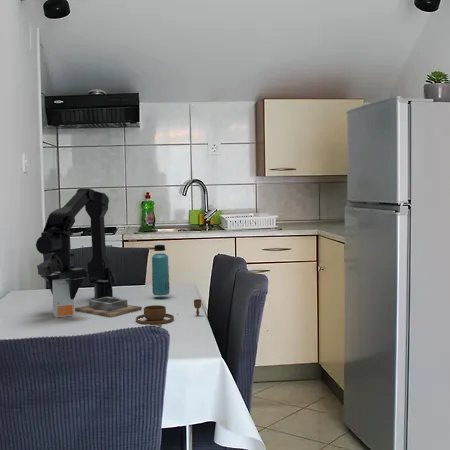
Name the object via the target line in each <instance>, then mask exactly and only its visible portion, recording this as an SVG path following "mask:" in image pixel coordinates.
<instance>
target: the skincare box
mask: <svg viewBox="0 0 450 450" xmlns="http://www.w3.org/2000/svg"><path fill="white" fill-rule="evenodd" d="M65 279H66V278H59V280H52V283H53V295H52V313H53V314H52V315H53V316H54V317H55V318H57V319H58V318H65V317H74V316H75V313H74V312H75V307H74V305H75V304H74V302H75V301H74V299H75V298H74V299H71V298H70V291H69V283H68V282H67V281H66V280H65Z"/></svg>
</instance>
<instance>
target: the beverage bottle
mask: <svg viewBox="0 0 450 450" xmlns="http://www.w3.org/2000/svg"><path fill="white" fill-rule="evenodd" d="M164 251H166V245H165V244H155V245H154V248H153V252H162V253H154V254H153V255H151V275H152V276H151V279H152V280H151V283H152V284H151V285H152V286H151V290H152V294H153V295H154V296H167V295H170V275H169V274H170V273H169V272H170V266H169V256H168V255H167V254H166V253H163V252H164Z"/></svg>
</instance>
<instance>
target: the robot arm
mask: <svg viewBox="0 0 450 450" xmlns="http://www.w3.org/2000/svg"><path fill="white" fill-rule="evenodd" d="M109 203H110V198H109V196H108V195H107V194H106V193H105V192H100V191H96V190H94V189H93V188H89V187H88V188H86V187H84V188H81V187H80V188H78V189H77V190H76V193H75V194H74V195H73V196H72V197H71V198H70V199H69V200H68V201H67V202H66V203H65V205H63V207H59V208H57V209H54V210H53V211H52V212H50V213H49V215H48V218H47V220H46V223H45V225H44V228H43V229H42V230H43V231H42V232H41V235H40V236H39V237H38V239H37V240H36V243H35V247H36V250H37V251H38V253H39V254H41V255H47V254H48V255H49V257H48V259H47V260H44V261H43V262H41V263H39V264H37V265H36V269H37V274H38V275H39V276H40V277H41V278H42V279H44V280H45V281H46V283H47V284H48V287H49V289H50V290H49V291H50V292H51V295H52V296H53V283H52V280H59V279H61V277H60V276H61V275H63V276H65V277H66V278H64V279H65V280H66V281H67V282H68V283H69V291H70V298H71V299H75V298H76V297H77V294H78V292H79V289H80V286H81V284H82V283H83V281H84V280H85V279H86V278H88V280H89V284H90V285H91V284H94V285H93V286H94V287H93V288H94V290H93V291H94V297H91V300H94V299H98V298H103V297H113V298H116V297H115V296H113V294H114V293H113V284H116V283H117V275H116V273H115V272H114V270H113V268H112V262H111V261H110V259H109V257H108V256H107V249H106V248H107V247H106V230H105V226H106V225H105V216H106V214H107V212H108V210H109ZM83 208H85V210H84V211H85V212H86V213H87V215H88V217H90V218H89V219H90V231H91V233H90V234H91V235H90V237H91V250H92V251H91V252H92V257H91V259H90V260H89V261H88V262H87V264H86V265H87V268H82V267H75V265H74V264H72V257H74V252H72V251H71V247H72V246H71V236H73V235H74V233H73V232H72V231H71V229H72V228H73V226H74V225H75V223H76V216H77V214H79V213H80V212H81V211H82V209H83Z"/></svg>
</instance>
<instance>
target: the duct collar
mask: <svg viewBox="0 0 450 450" xmlns="http://www.w3.org/2000/svg"><path fill="white" fill-rule="evenodd" d="M113 297H114V296H113ZM113 297H103V298H98V299H94V300H92V299H91V300H88V304H86V305H81V306H77V307H74V312H78V313H79V312H80V313H84V314H91V315H96V316H101V317H105V316H106V318H110V317H111V318H115V317H119V316H123V315H127V314H130V312H131V313H134V312H133V311H135V312H139V311H142V310H143V307H142V306H137V305H132V304H128V299H126V298H125V299H124V298H118V297H115V298H113ZM141 309H142V310H141ZM138 310H139V311H138Z"/></svg>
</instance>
